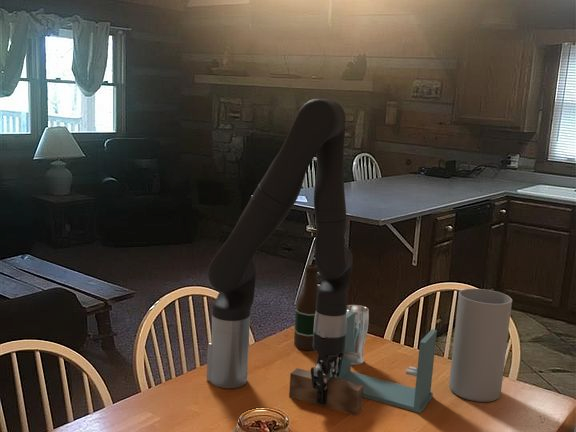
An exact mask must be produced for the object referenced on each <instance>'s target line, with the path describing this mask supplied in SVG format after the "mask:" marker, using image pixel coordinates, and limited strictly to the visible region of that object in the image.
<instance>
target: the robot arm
mask: <svg viewBox="0 0 576 432" xmlns="http://www.w3.org/2000/svg"><path fill="white" fill-rule="evenodd" d="M346 124H347V119H346V112H345V110H344V108H343V107H342V105H341V104H340V103H339V102H337V101H336V100H333V99H329V98H313V99H310V100H308V101H307V102H305V103H304V104H303V105H302V106H301V107H300V109H299V110H298V112H297V114H296V116H295V119H294V121H293V123H292V125H291V127H290V130H289V132H288V134H287V136H286V139H285V140H284V143H283V145H282V146H281V148H280V150H279V152H278V154H277V155H276V157H275V158H274V159H273V160H272V162H271V164H270V165H269V167H268V169H267V171H266V172H265V174H264V175H263V177H262V178H261V180H260V181H259V183H258V185H257V186H256V188H255V190H254V191H253V193H252V196H251V197H250V199H249V201H248V203H247V205H246V206H245V207H244V210H243V212H242V213H241V215H240V217H239V218H238V221H237V223H236V224H235V227H234V229H232V232H231V233H230V235H229V236H228V238H227V239H226V241H224V243H223V245H222V246H221V247H220V249H219V250H218V252H217V253H216V254H215V255H214V257H213V258H212V259H211V261H210V263H209V266H208V268H207V269H208V270H207V276H208V277H207V278H208V281H209V283H210V285H211V286H212V287H213V289H215V290H216V291H218V294H217V296H216V299H215V300H214V302H213V303H212V308H211V309H212V310H211V311H212V312H211V338H210V342H209V343H207V353H206V354H207V356H206V357H207V359H206V360H207V362H206V381H208V382H210V383H211V384H212V386H215V387H217V388H220V389H221V388H222V389H236V388H240V387H243V386H245V384H247V383H248V370H249V369H248V368H249V367H248V366H249V347H250V325H251V323H250V322H251V310H252V307H253V303H254V299H255V291H256V290H255V289H256V275H257V268H256V266H257V265H256V261H255V258H254V256H255V254H256V252H258V250H259V249H260V247H261V246H262V245H263V244H264V243H265V242H266V241H267V240H268V239H269V238H270V237H271V236H272V235H273V233H274V232H275V231H277V229H278V228H279V227H280V226H281V224H283V222H284V221H285V219H286V218H287V216H288V215H289V213H290V212H291V211H292V208H293V207H294V205H295V204H296V201H297V200H298V197H299V195H300V192H301V190H302V187H303V183H304V180H305V178H306V177H305V176H306V173H307V171H308V168H309V166H310V164H311V162H312V161H313V159H314V158H315V156H316V173H315V174H316V175H315V183H314V189H313V190H314V191H313V207H314V208H313V210H314V220H315V228H316V235H315V246H314V260H315V261H314V263H315V265H316V267H317V270H318V271H317V273H319V274H320V275H321V283H320V286H319V287H318V288H317V289H318V292H317V300H316V313H315V318H314V330H313V349H314V350H313V351H315V352H316V354H317V358H316V363H315V364H316V366H315V367H314V366H311V368H310V371H311V378H312V386H313V388H315V389H317V403H319V404H323V405H325V404H326V402H327V388H328V381H329V380H330V379H331V377H333V378H337V377H339V375H340V370H341V365H342V360H343V355H344V350H345V341H346V327H347V317H346V312H347V306H348V291H349V285H350V281H351V277H352V271H353V265H354V264H353V254H352V251H351V250H350V248H349V247H348V246H347V245H346V244H345V234H346V232H347V228H348V219H347V218H348V217H347V205H346V204H347V203H346V195H345V180H344V178H345V177H344V174H345V173H344V155H345V154H344V153H345V152H344V150H345V148H344V147H345V136H346ZM324 380H325V382H324Z"/></svg>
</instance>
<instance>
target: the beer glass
mask: <svg viewBox="0 0 576 432" xmlns="http://www.w3.org/2000/svg"><path fill="white" fill-rule="evenodd" d="M349 312H355V318H354V331H353V344H352V352H354V353H358V354H360V357H359V359H358V358H357V360H356V361H353V360H351V366H359V365H362V364H363V363H364V359H365V358H364V348H365V342H366V338H367V336H368V335H367V334H368V332H369V331H368V330H369V322H370V320H369V317H370V316H369V312H370V310H369V308H368V307H366V306H364V305H359V304H347V312H346V314H348V313H349Z"/></svg>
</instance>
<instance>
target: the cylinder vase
mask: <svg viewBox="0 0 576 432" xmlns="http://www.w3.org/2000/svg"><path fill="white" fill-rule="evenodd" d="M457 298H458V299H457V305H456V316H455V324H454V326H455V327H454V334H453V345H452V354H451V363H450V364H451V365H450V372H449V383H448V385H449V389H450V390H451V392H453V394H455V395H456V396H458V397H460V398H462V399H464V400H468V401H472V402H478V403H489V402H494V401H496V400H498V399H499V398H500V397H501V394H502V387H503V385H502V384H503V381H504V380H503V379H504V373H505V372H504V369H505V362H506V355H507V347H508V338H509V337H508V336H509V330H510V322H511V313H512V305H513V298H511V297H510V296H509V295H507V294H505V293H502V292H500V291H495V290H491V289H486V288H483V289H482V288H464V289H461V290H459V291H458V297H457Z"/></svg>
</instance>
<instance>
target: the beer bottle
mask: <svg viewBox="0 0 576 432" xmlns="http://www.w3.org/2000/svg"><path fill="white" fill-rule="evenodd" d="M305 270H306V271H305V279H304V286H303V291H302V293H301V294H300V296H298V299H297V302H296V306H295V315H294V316H295V319H294V321H295V322H294V337H293V338H294V340H293V343H294V346H295V347H296V348H297V349H298V350H302V351H306V352H310V350H312V351H315V350H314V349H313V330H314V318H315V313H316V300H317V292H318V289H319V288H318V270H317V267H316V264H308V265H306V266H305Z"/></svg>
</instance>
